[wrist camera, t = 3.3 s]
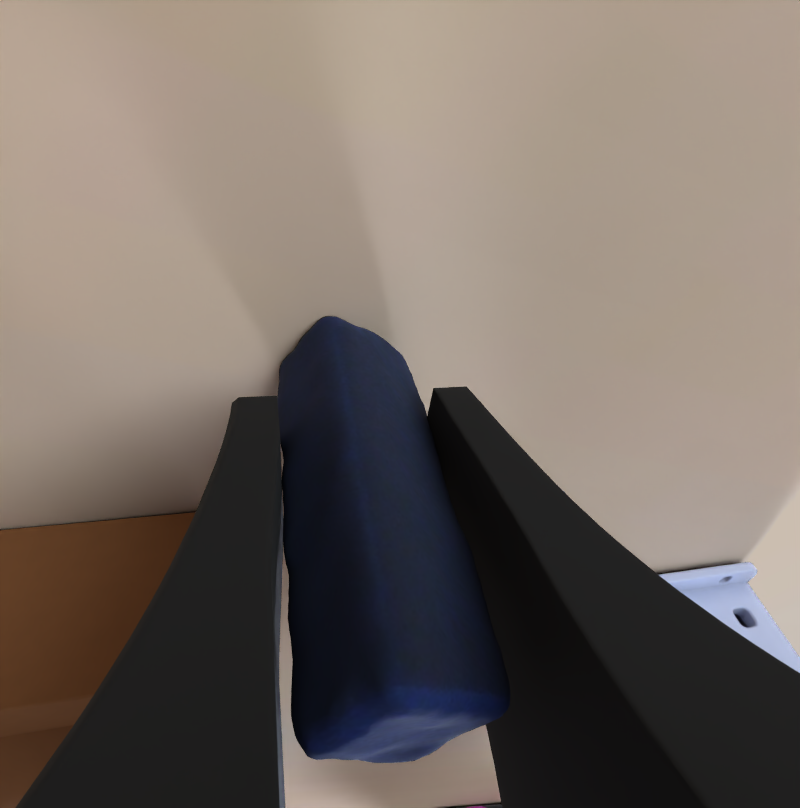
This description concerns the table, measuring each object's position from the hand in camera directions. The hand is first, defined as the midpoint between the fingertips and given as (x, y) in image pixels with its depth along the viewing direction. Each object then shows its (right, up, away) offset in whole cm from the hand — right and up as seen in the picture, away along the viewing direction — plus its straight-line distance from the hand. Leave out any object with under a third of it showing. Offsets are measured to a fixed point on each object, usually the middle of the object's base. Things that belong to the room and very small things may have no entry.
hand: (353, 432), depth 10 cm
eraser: (0, +1, +1) cm, 2 cm away
